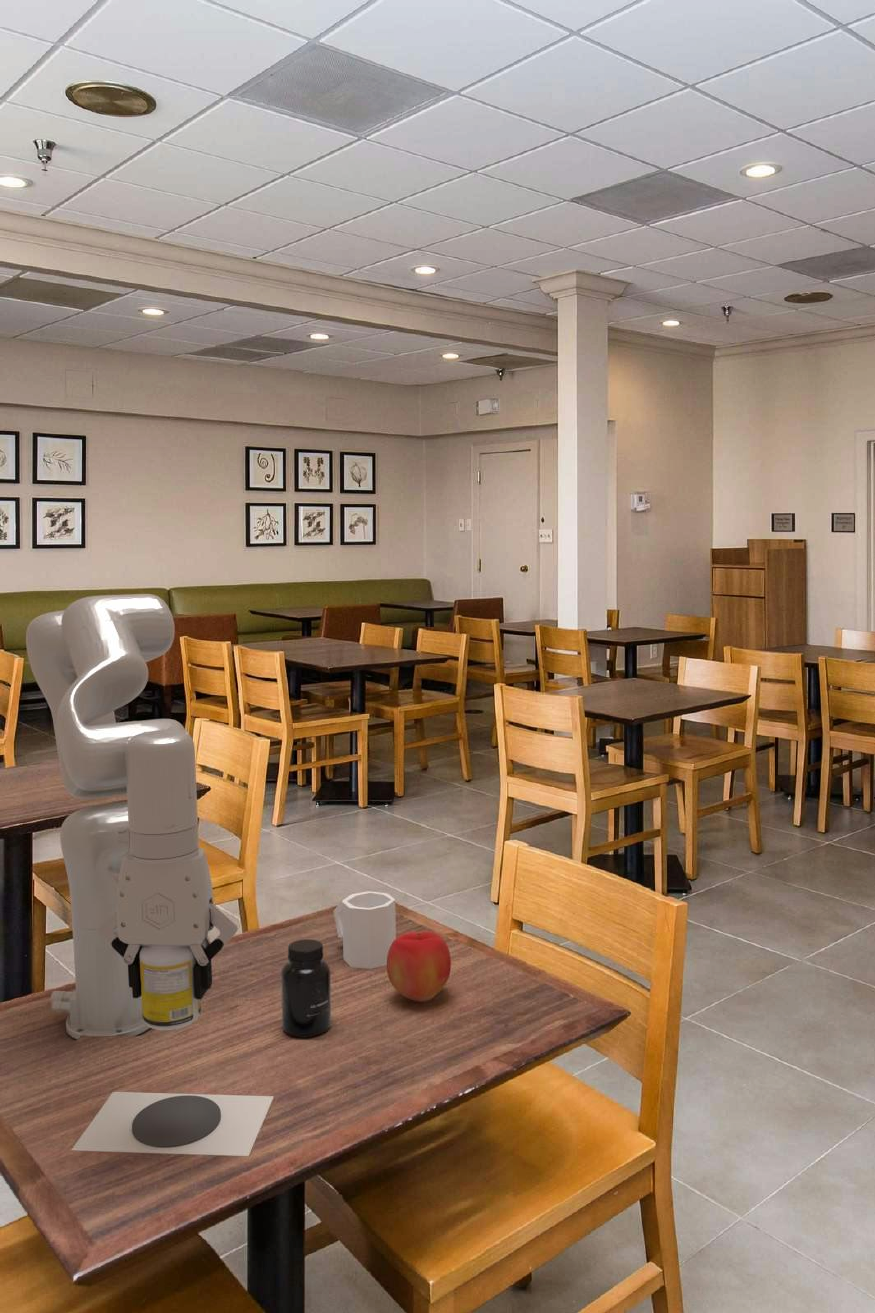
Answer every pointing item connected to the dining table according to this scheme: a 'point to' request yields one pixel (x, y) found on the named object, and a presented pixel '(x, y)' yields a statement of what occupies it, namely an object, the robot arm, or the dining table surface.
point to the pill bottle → (168, 987)
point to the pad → (176, 1121)
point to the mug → (366, 928)
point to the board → (227, 1139)
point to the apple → (418, 965)
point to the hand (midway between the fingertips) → (171, 992)
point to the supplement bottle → (306, 990)
